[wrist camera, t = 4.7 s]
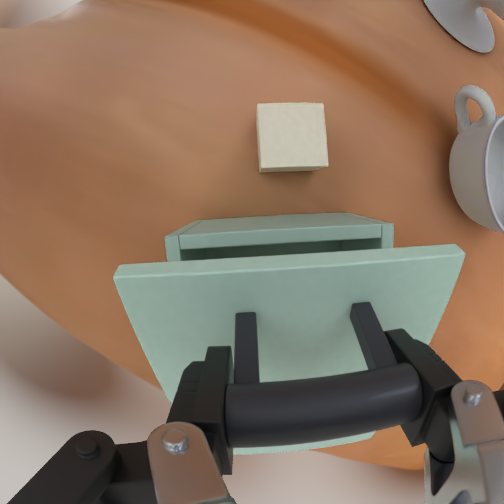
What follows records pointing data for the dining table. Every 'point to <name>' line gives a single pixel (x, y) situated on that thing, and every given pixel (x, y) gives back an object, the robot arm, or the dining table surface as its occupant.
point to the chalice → (467, 20)
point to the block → (291, 137)
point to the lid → (296, 336)
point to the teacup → (478, 161)
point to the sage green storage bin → (277, 236)
